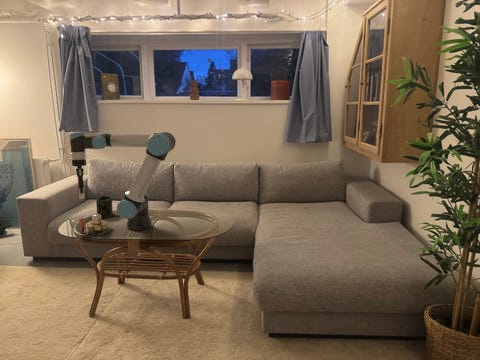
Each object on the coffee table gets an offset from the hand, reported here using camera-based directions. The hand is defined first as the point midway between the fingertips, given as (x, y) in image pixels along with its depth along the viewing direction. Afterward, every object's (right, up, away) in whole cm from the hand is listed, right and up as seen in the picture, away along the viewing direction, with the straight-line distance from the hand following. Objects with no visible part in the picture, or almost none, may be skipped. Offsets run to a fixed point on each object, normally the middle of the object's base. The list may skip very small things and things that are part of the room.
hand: (82, 198), depth 219 cm
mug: (0, -14, +35) cm, 38 cm away
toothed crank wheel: (+6, -19, +3) cm, 20 cm away
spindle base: (+7, -20, +4) cm, 22 cm away
